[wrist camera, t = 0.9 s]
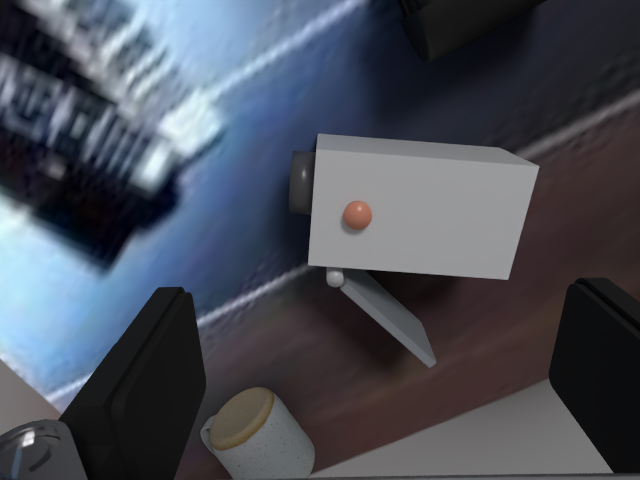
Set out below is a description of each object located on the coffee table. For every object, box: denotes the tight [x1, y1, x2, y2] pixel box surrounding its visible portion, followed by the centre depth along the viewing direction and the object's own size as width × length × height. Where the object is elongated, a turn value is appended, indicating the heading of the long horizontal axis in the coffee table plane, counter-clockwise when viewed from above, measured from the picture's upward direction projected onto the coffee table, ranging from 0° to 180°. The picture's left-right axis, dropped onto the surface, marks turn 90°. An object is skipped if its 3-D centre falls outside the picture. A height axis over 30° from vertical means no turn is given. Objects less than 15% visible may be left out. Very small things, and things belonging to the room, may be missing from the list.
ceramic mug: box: [201, 387, 315, 480], centre depth 40 cm, size 11×8×8 cm
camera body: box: [289, 134, 539, 280], centre depth 30 cm, size 16×8×7 cm, turn 86°
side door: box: [327, 267, 437, 368], centre depth 34 cm, size 12×1×6 cm, turn 46°
